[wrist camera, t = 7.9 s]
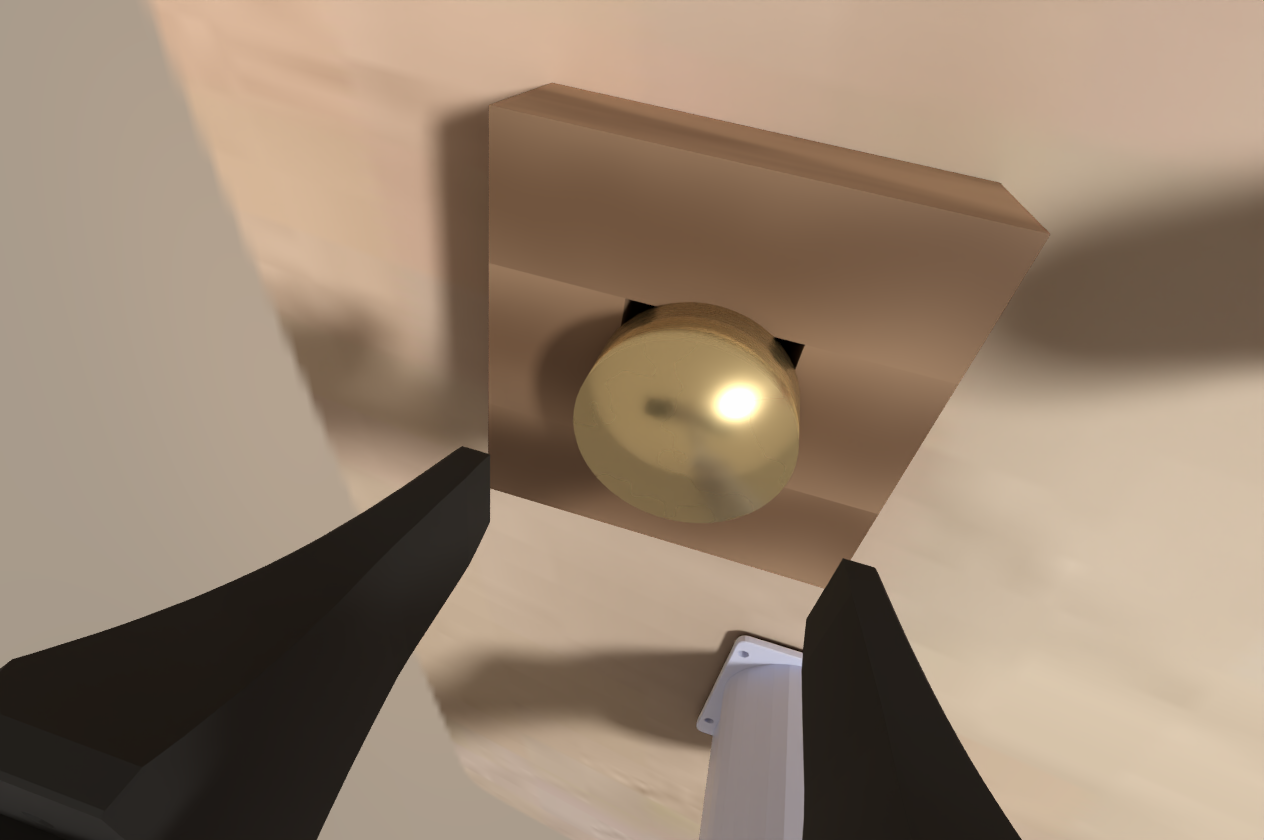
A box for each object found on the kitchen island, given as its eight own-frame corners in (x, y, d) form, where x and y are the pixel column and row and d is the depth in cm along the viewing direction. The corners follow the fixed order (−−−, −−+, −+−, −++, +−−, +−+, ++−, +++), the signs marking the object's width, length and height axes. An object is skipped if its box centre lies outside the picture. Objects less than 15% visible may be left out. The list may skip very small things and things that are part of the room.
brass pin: (769, 420, 21) (756, 547, 16) (618, 376, 21) (562, 486, 16) (830, 275, 17) (837, 381, 12) (647, 225, 18) (588, 310, 13)
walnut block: (828, 505, 22) (831, 590, 19) (531, 421, 23) (488, 487, 20) (999, 182, 15) (1050, 234, 12) (552, 82, 16) (488, 104, 13)
